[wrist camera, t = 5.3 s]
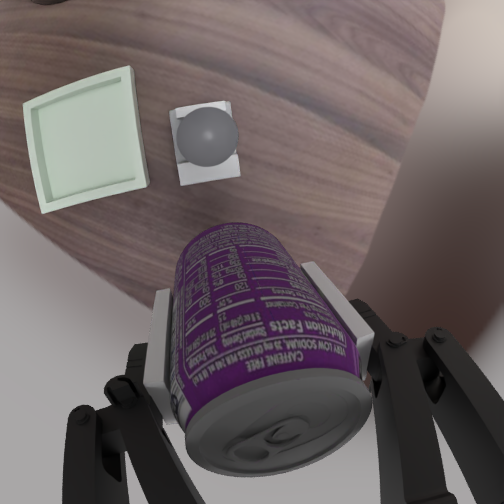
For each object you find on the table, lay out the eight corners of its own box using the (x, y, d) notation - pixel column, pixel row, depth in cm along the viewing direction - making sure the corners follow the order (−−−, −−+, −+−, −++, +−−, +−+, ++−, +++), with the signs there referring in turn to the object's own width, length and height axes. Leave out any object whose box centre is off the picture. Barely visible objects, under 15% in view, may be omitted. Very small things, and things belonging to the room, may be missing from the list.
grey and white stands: (169, 111, 28) (158, 100, 19) (229, 102, 29) (245, 88, 19) (205, 305, 37) (211, 358, 28) (254, 296, 38) (273, 345, 29)
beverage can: (223, 335, 21) (257, 491, 10) (152, 267, 18) (121, 441, 7) (305, 276, 20) (403, 413, 9) (243, 194, 17) (335, 314, 6)
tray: (33, 104, 23) (22, 103, 21) (134, 70, 25) (129, 65, 23) (50, 208, 29) (41, 214, 26) (150, 183, 30) (146, 187, 28)
